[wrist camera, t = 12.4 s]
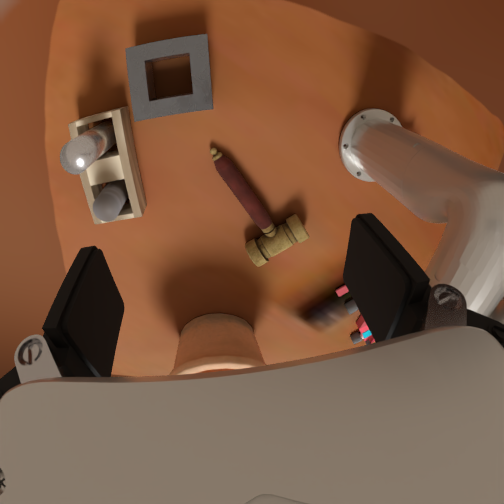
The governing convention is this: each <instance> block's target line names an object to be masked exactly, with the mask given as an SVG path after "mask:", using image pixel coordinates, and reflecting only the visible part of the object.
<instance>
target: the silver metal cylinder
mask: <svg viewBox="0 0 504 504" xmlns="http://www.w3.org/2000/svg"><path fill="white" fill-rule="evenodd" d="M115 143H116V136H115V131H114V126H113V122H112V121H105V122H102V123H100V124H99V125H97V126H95V127H93V128H91V129H90V130H88V131H86V132H84V133H83V134H81V135H79V136H77V137H76V138H74V139H72V140H71V141H69V142H68V143H66V144H65V145H64V146H63V148H62V150H61V153H60V161H61V164H62V166H63V168H64V169H65V170H66V171H67V172H69V173H71V174H80V173H82V172H84V171H85V170H86V169H87V168H88V167H89V166H90V165H91V164H93V163H94V162H95V161H96V160H97V159H98V158H99V157H100V156H101V155H103V154H104V153H105V152H106V151H107V150H108V149H109V148H111V147H112V146H113V145H114V144H115Z"/></svg>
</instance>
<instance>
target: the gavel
mask: <svg viewBox="0 0 504 504" xmlns="http://www.w3.org/2000/svg"><path fill="white" fill-rule="evenodd" d="M210 153H211V154H213V160H214V163H215V166H216V169H217V171H218V173H219V174H220V175H221V177H222V178H223V180H224V181H225V182H226V184H227V185H228V186H229V188H230V189H231V190H232V192H233V193H234V195H235V196H236V197H237V199H238V200H239V201H240V203H241V204H242V206H243V207H244V208H245V210H246V211H247V212H248V214H249V215H250V217H251V218H252V219H253V221H254V222H255V224H256V225H257V226H258V227H260V228H261V230H262V231H263V232H264V235H263V236H261V238H259V239H258V240H257V239H256V238H254V239H252V240H251V241H249V242H247V243H246V244H245V248H246V251H247V253H248V255H249V257H250V259H251V260H252V261H253V263H254V264H255V265H256V266H258V267H260V266H262V265H263V264H265V263H267V262H268V261H269V260H268V258H270V257H273V256H275V255H277V254H279V253H280V252H282V251H284V250H285V249H287V248H289V247H291V246H292V245H293V244H294V243H296V242H297V241H298V242H299V243H301V242H303V241H305V240H306V239H308V238H309V235H308V233H307V231H306V229H305V228H304V226H303V224H302V223H301V221H300V219H299V218H298V216H297V215H296V214H294V215H292V216H291V217H289V218H287V219H286V223H284V224H283V225H279V226H278V227H275V225H274V224H273V222H272V221H271V218H270V216H269V214H268V213H267V211H266V210H265V208H264V207H263V206H262V204H261V203H260V201H259V200H258V198H257V197H256V195H255V194H254V192H253V191H252V190H251V188H250V187H249V185H248V184H247V182H246V181H245V180H244V178H243V177H242V175H241V174H240V172H239V171H238V170H237V168H236V167H235V165H234V164H233V162H232V161H231V160H230V159H228V158H227V157H226V156H224V155H223V154H222V153H221V152H217V149H216V148H211V149H210Z"/></svg>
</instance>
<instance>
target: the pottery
mask: <svg viewBox="0 0 504 504" xmlns="http://www.w3.org/2000/svg"><path fill="white" fill-rule="evenodd" d="M264 365H266V364H265V362H264V359H263V357H262V354H261V351H260V349H259V346H258V343H257V341H256V338H255V335H254V333H253V329H252V327H251V326H250V325H249V324H248V323H247V322H246V321H245V320H244V319H241V318H239V317H237V316H235V315H229V314H223V313H216V314H206V315H203V316H200V317H197V318H194V319H193V320H191V321H190V322H189V323H187V324H186V325H185V326H184V328H183V330H182V331H181V336H180V340H179V345H178V350H177V355H176V360H175V364H174V369H173V370H172V371H171V373H170V374H169V375H182V374H195V373H206V372H217V371H226V370H234V369H242V368H250V367H257V366H264Z"/></svg>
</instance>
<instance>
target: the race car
mask: <svg viewBox="0 0 504 504" xmlns="http://www.w3.org/2000/svg"><path fill="white" fill-rule="evenodd" d="M348 291H349V290H348V288H347V287H346V285H344V286H342V287H340V288H338V289H337V290H336V292H337V294H338V296H341V295H343V294H345V293H347V292H348ZM345 306H346V308H347V310H348V312H349V314H352V313H353V312H355V311H357V310H358V307H357V305H356V303H355V301H354V299H352V300H351V301H349V302H347V303H345ZM356 324H357V326H358V328H359V330H360V332H361V333H360V334H359V333H358V332H356V333H354V334H352V335H350V337H351V339H352V341H353V343H354V344H356V343H358V342H360V341H362V339H364V340H365V342H366V344H367V345H369V344H371V343H372V342H374V341H375V340H374V338H373V336H372V334H371V332H370V330H369V328H368V326H367V324H366V322H365V320H364V318H363V316H362V315H361V316H360V317H359V319H358V320H357V322H356Z"/></svg>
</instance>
